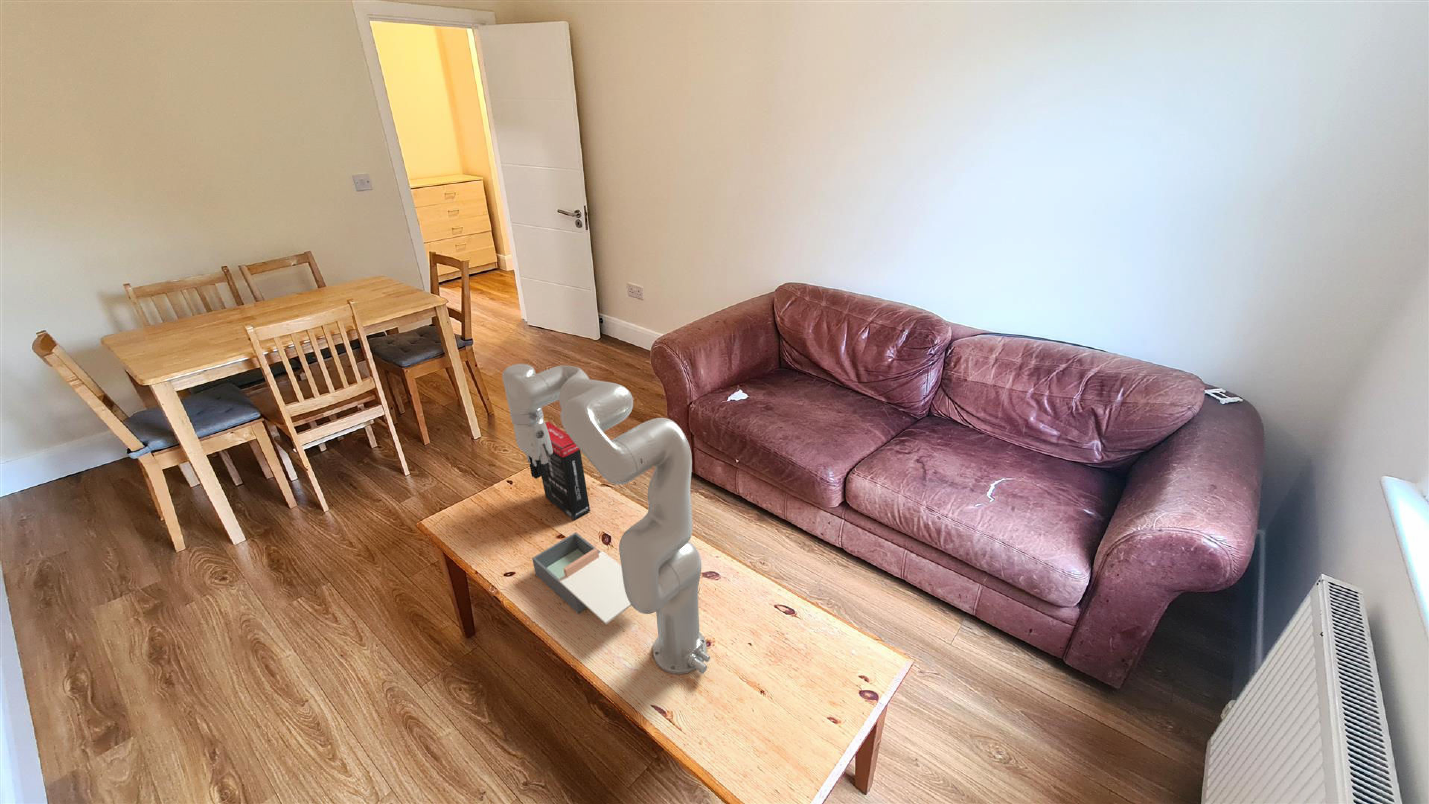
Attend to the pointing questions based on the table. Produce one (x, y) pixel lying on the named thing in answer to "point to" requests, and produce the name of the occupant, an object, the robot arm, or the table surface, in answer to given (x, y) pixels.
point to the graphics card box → (565, 475)
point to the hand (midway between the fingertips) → (539, 475)
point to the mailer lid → (597, 584)
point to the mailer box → (561, 566)
